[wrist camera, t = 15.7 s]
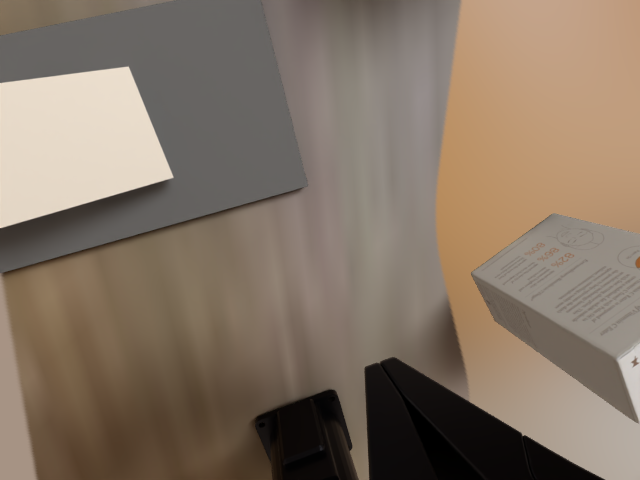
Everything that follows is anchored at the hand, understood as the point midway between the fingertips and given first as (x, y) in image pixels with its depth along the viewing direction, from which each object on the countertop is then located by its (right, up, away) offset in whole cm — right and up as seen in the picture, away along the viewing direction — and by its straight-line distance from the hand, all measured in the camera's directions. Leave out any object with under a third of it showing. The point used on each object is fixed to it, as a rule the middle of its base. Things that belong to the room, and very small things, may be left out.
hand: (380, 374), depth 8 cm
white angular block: (-10, +9, +7) cm, 15 cm away
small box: (+14, +1, +17) cm, 22 cm away
